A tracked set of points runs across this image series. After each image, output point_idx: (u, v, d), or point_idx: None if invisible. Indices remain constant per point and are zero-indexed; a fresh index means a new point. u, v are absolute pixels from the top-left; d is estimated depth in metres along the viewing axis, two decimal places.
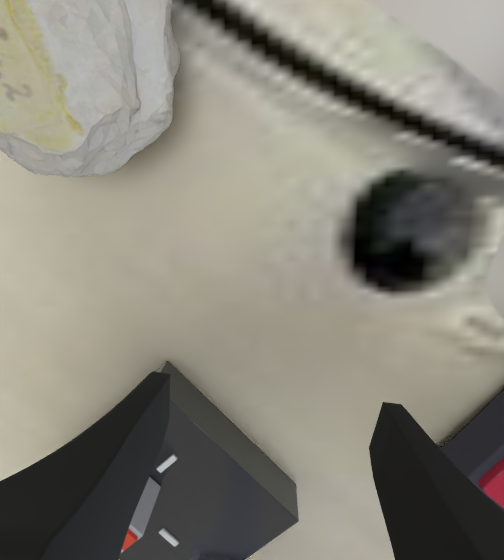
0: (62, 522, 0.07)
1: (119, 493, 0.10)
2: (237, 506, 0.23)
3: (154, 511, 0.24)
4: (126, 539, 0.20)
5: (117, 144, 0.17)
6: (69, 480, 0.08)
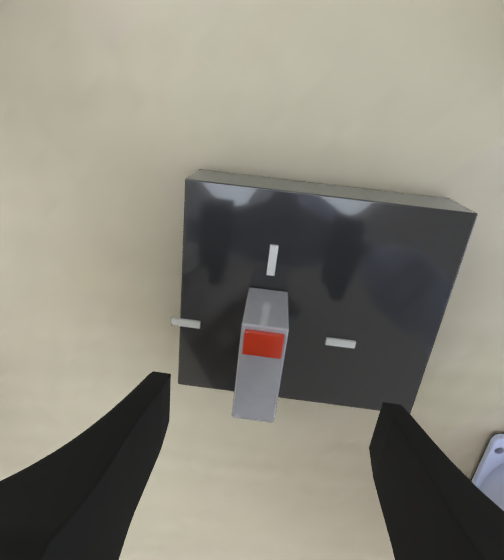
0: (62, 522, 0.07)
1: (119, 493, 0.10)
2: (388, 252, 0.17)
3: (302, 325, 0.19)
4: (272, 343, 0.15)
5: None
6: (69, 480, 0.08)
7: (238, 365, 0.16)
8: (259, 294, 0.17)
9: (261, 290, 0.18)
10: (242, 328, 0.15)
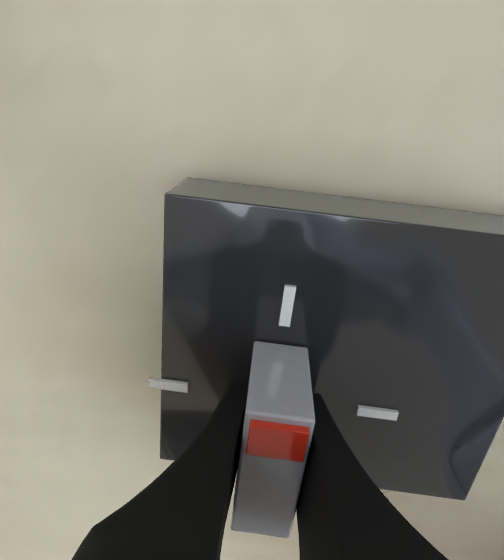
0: (215, 544, 0.07)
1: (225, 508, 0.10)
2: (450, 296, 0.12)
3: (326, 389, 0.14)
4: (291, 441, 0.10)
5: None
6: (197, 498, 0.08)
7: (240, 466, 0.11)
8: (268, 353, 0.12)
9: (271, 346, 0.13)
10: (246, 418, 0.10)
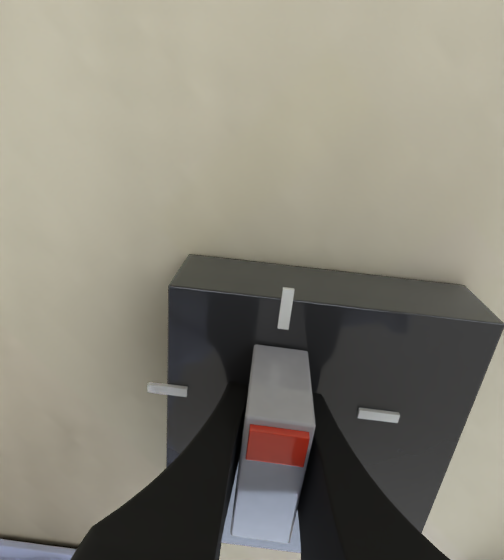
0: (214, 544, 0.07)
1: (225, 508, 0.10)
2: None
3: None
4: (291, 446, 0.10)
5: None
6: (197, 498, 0.08)
7: (239, 471, 0.11)
8: (268, 356, 0.12)
9: (271, 349, 0.13)
10: (246, 423, 0.10)
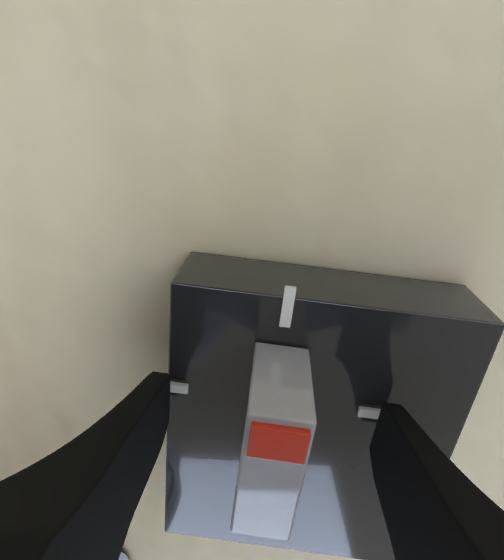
0: (62, 522, 0.07)
1: (119, 493, 0.10)
2: (374, 510, 0.16)
3: None
4: (292, 444, 0.10)
5: None
6: (69, 480, 0.08)
7: (240, 468, 0.11)
8: (269, 354, 0.12)
9: (272, 347, 0.13)
10: (247, 420, 0.10)
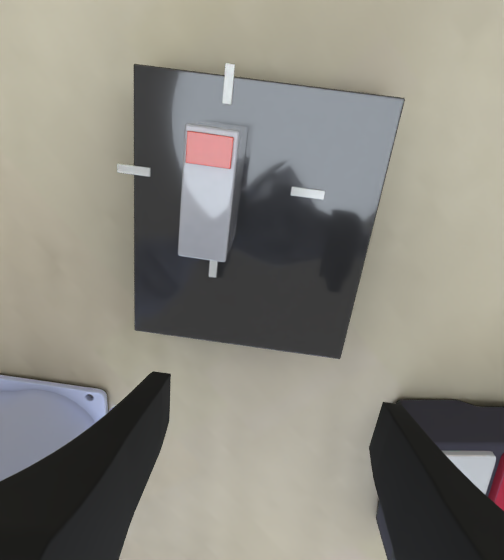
0: (62, 522, 0.07)
1: (119, 493, 0.10)
2: (310, 298, 0.19)
3: None
4: (219, 146, 0.13)
5: None
6: (69, 480, 0.08)
7: (182, 183, 0.14)
8: (213, 122, 0.15)
9: (217, 122, 0.16)
10: (185, 130, 0.13)
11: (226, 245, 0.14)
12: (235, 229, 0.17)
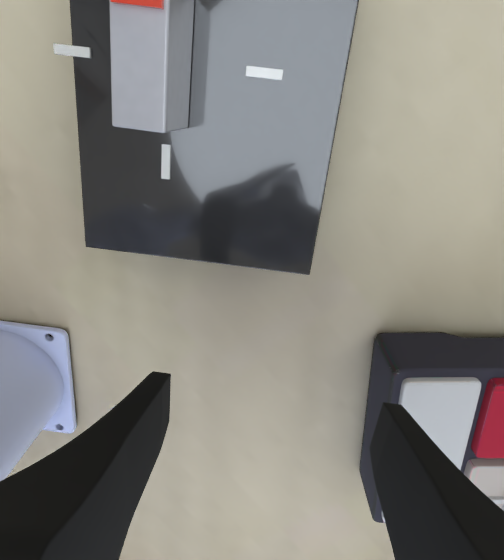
0: (62, 522, 0.07)
1: (119, 493, 0.10)
2: (273, 202, 0.17)
3: None
4: None
5: None
6: (69, 480, 0.08)
7: (111, 32, 0.12)
8: None
9: None
10: None
11: (165, 111, 0.13)
12: (186, 117, 0.15)
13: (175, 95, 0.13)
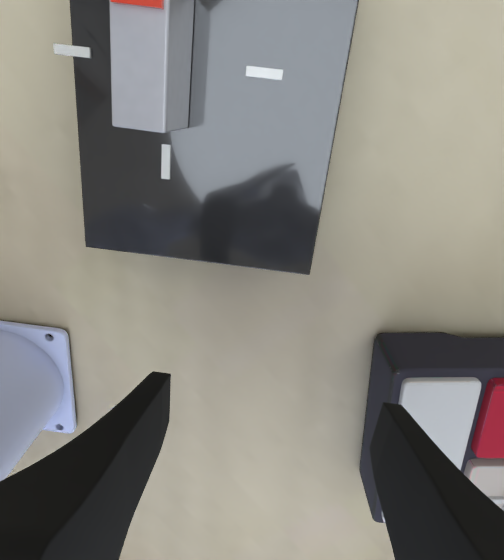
0: (62, 522, 0.07)
1: (119, 493, 0.10)
2: (273, 202, 0.17)
3: None
4: None
5: None
6: (69, 480, 0.08)
7: (111, 32, 0.12)
8: None
9: None
10: None
11: (165, 111, 0.13)
12: (186, 117, 0.15)
13: (175, 95, 0.13)
